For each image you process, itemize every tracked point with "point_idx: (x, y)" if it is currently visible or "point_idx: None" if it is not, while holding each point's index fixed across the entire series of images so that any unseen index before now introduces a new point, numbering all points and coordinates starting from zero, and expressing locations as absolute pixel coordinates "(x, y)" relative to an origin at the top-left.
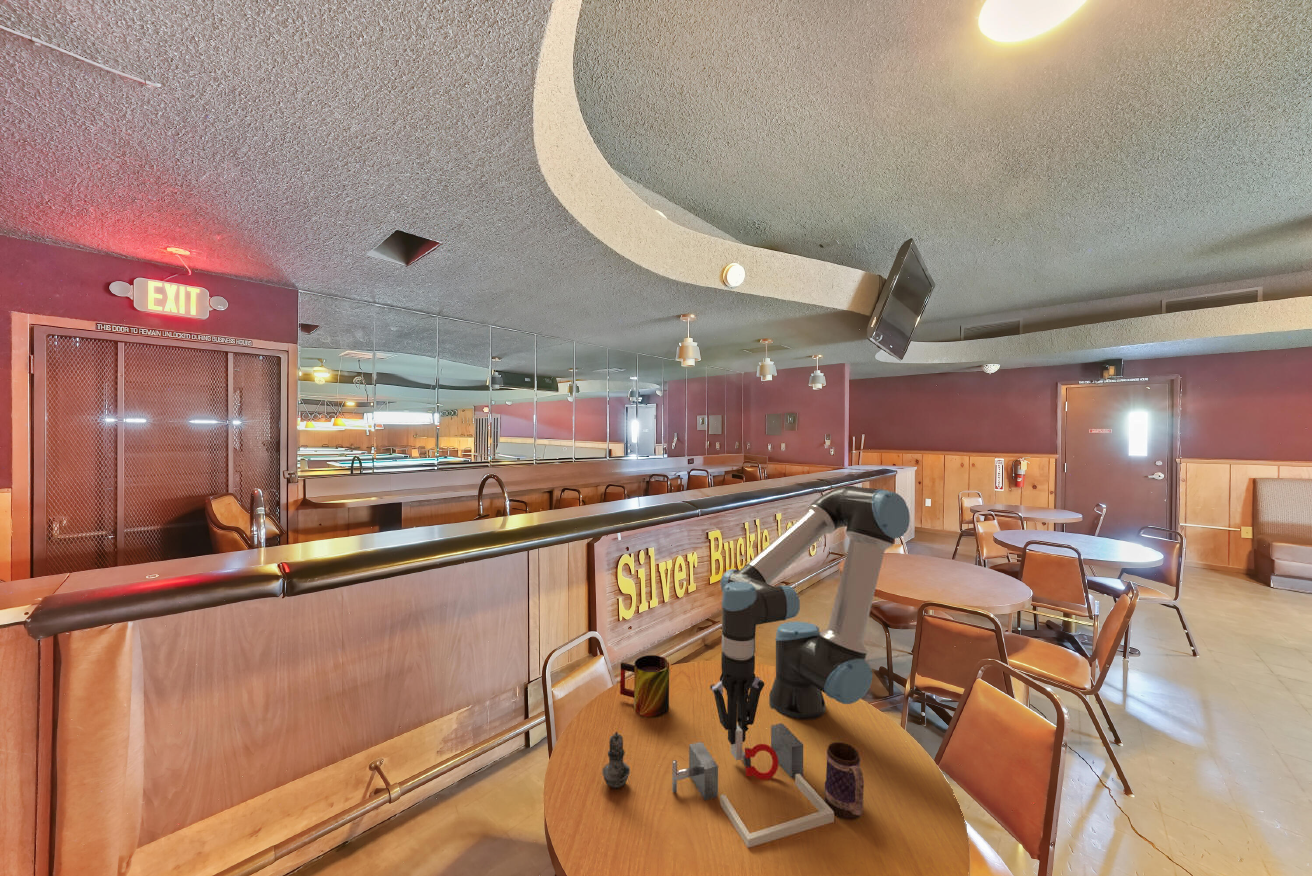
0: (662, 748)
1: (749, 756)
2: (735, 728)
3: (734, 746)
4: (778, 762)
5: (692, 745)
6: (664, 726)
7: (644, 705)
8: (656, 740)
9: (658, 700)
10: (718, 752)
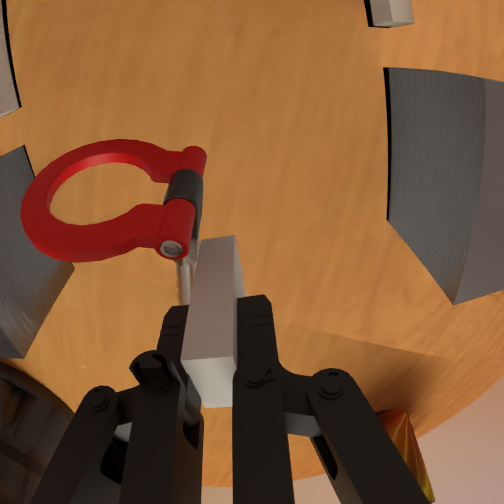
0: (432, 329)
1: (168, 206)
2: (246, 378)
3: (238, 289)
4: None
5: (499, 281)
6: (380, 391)
7: (408, 430)
8: (427, 353)
9: None
10: (273, 307)
